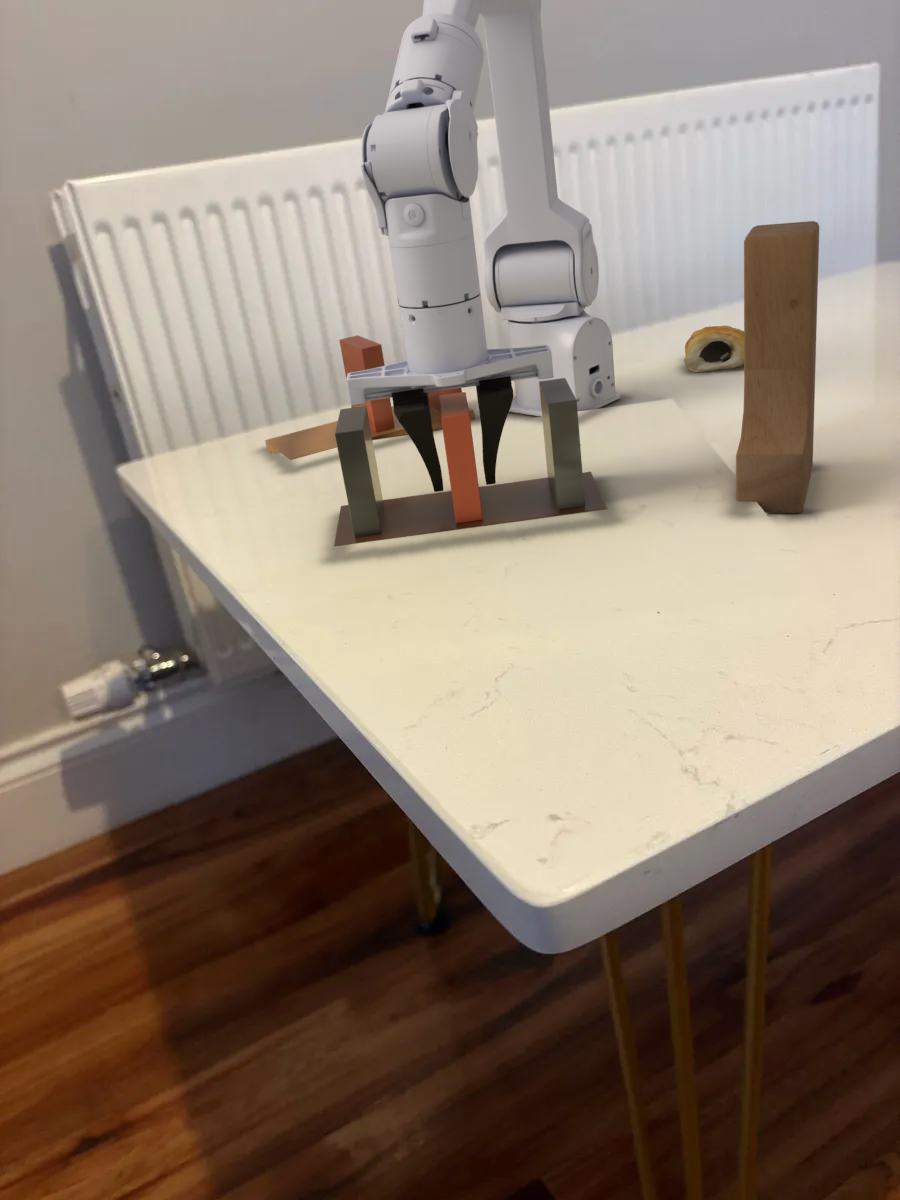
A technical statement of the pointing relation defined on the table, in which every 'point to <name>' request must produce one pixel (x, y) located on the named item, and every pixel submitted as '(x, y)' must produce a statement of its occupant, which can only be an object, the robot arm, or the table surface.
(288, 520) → the table surface
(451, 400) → the terracotta book
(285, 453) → the book rack
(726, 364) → the pastry
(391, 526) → the grey book stand
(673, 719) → the table surface
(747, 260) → the wooden block
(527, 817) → the table surface
